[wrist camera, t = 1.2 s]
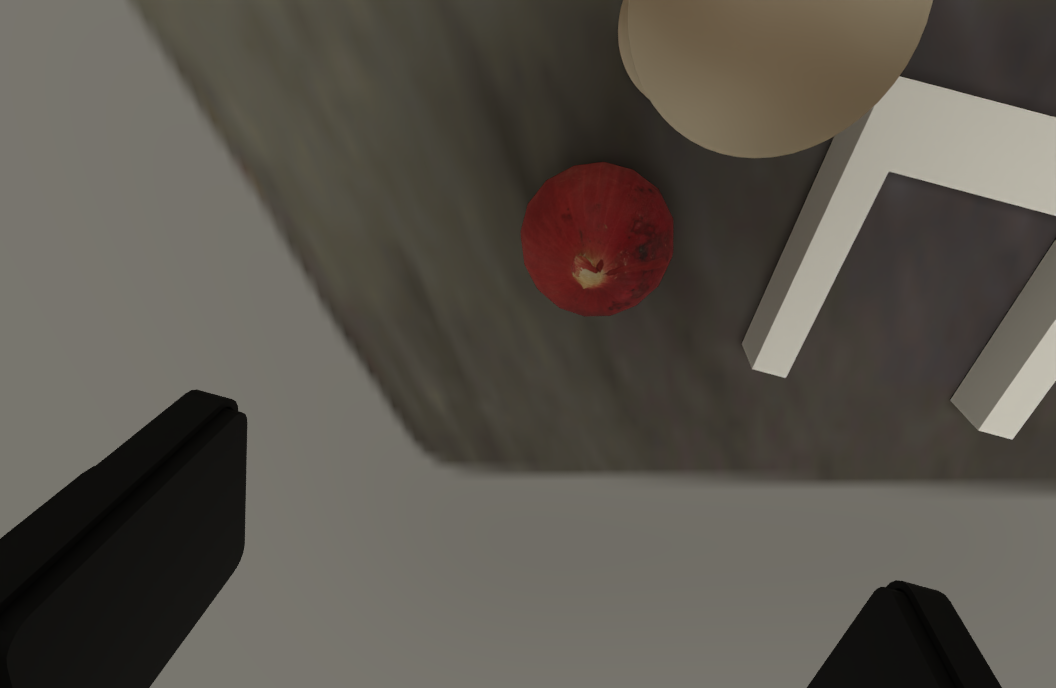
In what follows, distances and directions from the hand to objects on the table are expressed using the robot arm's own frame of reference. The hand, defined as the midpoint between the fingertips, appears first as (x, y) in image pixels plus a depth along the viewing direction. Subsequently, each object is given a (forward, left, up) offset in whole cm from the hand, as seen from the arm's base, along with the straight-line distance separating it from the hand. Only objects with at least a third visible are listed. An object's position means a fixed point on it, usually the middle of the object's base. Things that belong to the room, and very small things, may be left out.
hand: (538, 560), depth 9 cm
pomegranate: (0, 0, -20) cm, 20 cm away
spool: (-8, +2, -20) cm, 22 cm away
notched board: (-2, +14, -20) cm, 25 cm away
